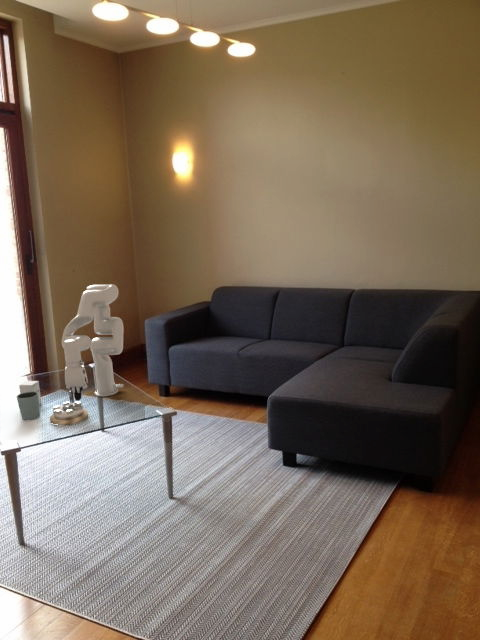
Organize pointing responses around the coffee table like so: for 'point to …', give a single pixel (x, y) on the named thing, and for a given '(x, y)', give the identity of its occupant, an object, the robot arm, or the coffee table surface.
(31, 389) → the supplement box
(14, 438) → the coffee table surface
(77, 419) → the round tan disc base
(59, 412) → the disc with radial blocks
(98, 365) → the robot arm
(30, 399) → the grey-green cup
